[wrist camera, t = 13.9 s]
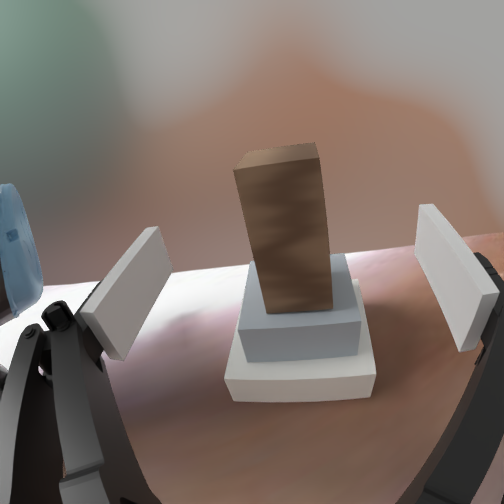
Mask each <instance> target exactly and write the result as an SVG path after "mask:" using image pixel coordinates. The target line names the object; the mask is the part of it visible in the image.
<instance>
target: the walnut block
mask: <svg viewBox="0 0 504 504" xmlns="http://www.w3.org/2000/svg"><path fill="white" fill-rule="evenodd" d="M233 172H234V176H235V180H236V184H237V189H238V193H239V197H240V201H241V205H242V210H243V215H244V219H245V223H246V227H247V232H248V236H249V240H250V245H251V249H252V253H253V258H254V262H255V266H256V271H257V275H258V279H259V283H260V288H261V292H262V296H263V301H264V305H265V309H266V314H269V313H285V312H299V311H312V310H324V309H333V293H332V276H331V262H330V250H329V238H328V227H327V217H326V208H325V199H324V190H323V183H322V175H321V167H320V160H319V155H318V152H317V148H316V145H315V142H314V143H306V144H298V145H290V146H284V147H276V148H270V149H263V150H257V151H251V152H247V153H246V154H245V155H244V157H243V158H242V159H241V160H240V162H239V163H238V164H237V165H236V167H235V168H234V169H233Z"/></svg>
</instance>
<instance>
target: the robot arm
mask: <svg viewBox="0 0 504 504" xmlns="http://www.w3.org/2000/svg"><path fill="white" fill-rule="evenodd" d="M414 254H415V256H416V258H417V260H418V262H419V263H420V265H421V267H422V269H423V271H424V273H425V275H426V277H427V279H428V281H429V283H430V286H431V288H432V290H433V292H434V294H435V296H436V298H437V300H438V303H439V305H440V307H441V309H442V312H443V314H444V316H445V319H446V321H447V323H448V326H449V328H450V331H451V333H452V336H453V338H454V341H455V343H456V346H457V348H458V351H459V352H464V351H468V350H473V349H475V348H476V346H477V344H478V342H479V340H480V338H481V340H482V342H483V344H484V347H483V349H482V351H481V353H480V355H479V356H478V358H477V360H476V362H475V365H476V366H475V369H474V371H473V374H472V376H471V378H470V381H469V383H468V385H467V387H466V390H465V392H464V394H463V396H462V398H461V400H460V402H459V404H458V406H457V408H456V410H455V412H454V414H453V416H452V418H451V420H450V422H449V424H448V426H447V427H446V429H445V431H444V433H443V435H442V436H441V438H440V440H439V441H438V443H437V445H436V447H435V448H434V450H433V451H432V453H431V455H430V456H429V458H428V459H427V461H426V462H425V464H424V465H423V467H422V468H421V470H420V471H419V473H418V474H417V476H416V477H415V478H414V480H413V481H412V483H411V484H410V485H409V487H408V488H407V489H406V491H405V492H404V493H403V495H402V496H401V497H400V499H399V500H398V501H397V502H396V503H395V504H470V503H471V501H472V499H473V497H474V496H475V494H476V492H477V490H478V488H479V487H480V485H481V483H482V481H483V479H484V477H485V475H486V473H487V471H488V469H489V467H490V465H491V463H492V460H493V458H494V456H495V454H496V451H497V449H498V447H499V444H500V442H501V440H502V437H503V434H504V281H503V280H502V278H501V277H500V276H499V275H498V273H497V271H496V270H495V269H494V268H493V266H492V264H491V263H490V262H489V260H488V259H487V258H485V257H484V256H483V255H481V254H480V253H479V252H477V253H472V251H471V250H470V249H469V247H468V246H467V245H466V243H465V242H464V241H463V239H462V238H461V237H460V236H459V234H458V233H457V232H456V231H455V229H454V228H453V227H452V226H451V225H450V223H449V222H448V221H447V220H446V219H445V217H444V216H443V215H442V214H441V213H440V212H439V210H438V209H437V208H436V207H435V206H434V205H433V204H419V214H418V225H417V234H416V243H415V251H414ZM172 271H173V267H172V264H171V261H170V258H169V255H168V253H167V250H166V247H165V244H164V242H163V239H162V235H161V233H160V230H159V226H157V227H149V228H146V229H145V230H144V231H143V232H142V233H141V235H140V236H139V237H138V238H137V239H136V240H135V242H134V243H133V244H132V245H131V247H130V248H129V249H128V250H127V251H126V252H125V254H124V255H123V256H122V257H121V258H120V260H119V261H118V262H117V263H116V265H115V266H114V267H113V268H112V270H111V271H110V272H109V274H108V275H107V276H106V277H105V278H104V279H103V280H102V281H100V282H99V283H98V284H97V285H96V286H95V288H94V289H93V290H92V292H91V293H90V294H89V296H88V298H86V300H85V301H84V302H83V304H82V305H81V306H80V308H79V309H78V310H77V312H76V313H75V314H74V315H73V314H72V312H71V310H70V309H69V307H68V305H67V304H66V302H65V301H57V302H54V303H52V304H51V305H49V306H48V307H47V308H46V309H45V310H44V311H43V313H42V316H41V318H42V319H43V321H44V322H45V324H46V325H47V327H48V328H49V331H43V329H42V328H41V326H40V325H39V324H37V323H36V324H32V325H29V326H27V327H26V328H25V329H24V331H23V332H22V333H21V335H20V338H19V340H18V343H17V346H16V349H15V352H14V355H13V358H12V361H11V365H10V368H9V371H8V370H7V369H6V368H5V367H4V366H2V365H1V364H0V504H162V503H161V502H160V501H159V499H158V498H157V497H156V496H155V495H154V494H153V493H152V492H151V490H150V489H149V487H148V485H147V483H146V480H145V478H144V476H143V474H142V471H141V469H140V467H139V464H138V462H137V460H136V457H135V455H134V452H133V450H132V447H131V445H130V442H129V439H128V437H127V434H126V431H125V428H124V426H123V423H122V420H121V417H120V414H119V411H118V408H117V405H116V402H115V398H114V395H113V392H112V388H111V385H110V381H109V378H108V374H107V370H106V366H105V363H104V360H103V358H102V357H101V354H102V352H103V350H104V351H105V352H106V354H107V355H108V356H109V358H110V359H114V360H121V361H124V360H125V358H126V356H127V354H128V352H129V350H130V348H131V346H132V344H133V342H134V340H135V338H136V336H137V335H138V333H139V331H140V329H141V327H142V325H143V323H144V321H145V320H146V318H147V316H148V314H149V312H150V310H151V308H152V307H153V305H154V303H155V301H156V299H157V298H158V296H159V294H160V292H161V290H162V289H163V287H164V285H165V283H166V282H167V280H168V278H169V276H170V275H171V273H172ZM42 292H43V277H42V271H41V267H40V262H39V258H38V255H37V251H36V247H35V243H34V240H33V236H32V233H31V229H30V226H29V222H28V219H27V216H26V213H25V210H24V207H23V204H22V201H21V198H20V196H19V193H18V191H17V190H16V189H15V186H14V185H13V184H6V185H5V184H2V185H1V186H0V326H1V325H3V324H5V323H6V322H8V321H10V320H12V319H14V318H17V317H18V316H19V314H20V313H22V312H23V311H25V310H26V309H28V308H29V307H31V306H32V305H34V304H35V303H36V302H37V301H38V300H39V299H40V297H41V294H42ZM38 366H40V367H41V369H42V370H43V371H44V372H43V376H42V375H41V374H40V373H39V371H38ZM63 458H64V463H65V467H66V472H67V476H66V477H65V478H63ZM501 504H504V495H503V498H502V501H501Z"/></svg>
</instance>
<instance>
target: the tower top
mask: <svg viewBox="0 0 504 504" xmlns="http://www.w3.org/2000/svg"><path fill="white" fill-rule="evenodd" d="M330 262H331V276H332V293H333V309H324V310H312V311H299V312H285V313H269V314H266V309H265V305H264V301H263V296H262V292H261V288H260V283H259V279H258V275H257V271H256V266H255V262H254V261H250V266H249V271H248V277H247V282H246V287H245V293H244V298H243V303H242V309H241V314H240V319H239V325H238V333H239V336H240V340H241V343H242V347H243V350H244V353H245V357H246V360H247V362H275V361H295V360H310V359H323V358H335V357H345V356H354V355H357V354H358V347H359V339H360V330H361V316H360V312H359V308H358V304H357V300H356V296H355V292H354V288H353V284H352V280H351V276H350V273H349V269H348V265H347V262H346V258H345V255H344V253H339V254H330Z"/></svg>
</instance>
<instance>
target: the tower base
mask: <svg viewBox="0 0 504 504" xmlns="http://www.w3.org/2000/svg"><path fill="white" fill-rule="evenodd" d="M352 284H353V288H354V292H355V296H356V300H357V304H358V308H359V312H360V316H361V330H360V339H359V347H358V354H357V355H354V356H345V357H335V358H323V359H310V360H295V361H275V362H247V360H246V357H245V353H244V350H243V347H242V343H241V340H240V336H239V333H238V325H239V319H240V314H241V309H242V303H243V299H242V303H241V308H240V312H239V316H238V321H237V325H236V329H235V333H234V337H233V342H232V346H231V350H230V354H229V359H228V363H227V367H226V371H225V376H224V381H225V383H226V385H227V387H228V390H229V392H230V394H231V396H232V399H233V401H242V402H314V401H333V400H346V399H358V398H367V397H370V396H371V393H372V389H373V385H374V382H375V378H376V368H375V362H374V356H373V350H372V344H371V339H370V334H369V329H368V324H367V319H366V314H365V309H364V305H363V300H362V295H361V291H360V287H359V282H358V279H352ZM245 287H246V286H245ZM244 293H245V291H244ZM243 298H244V295H243Z"/></svg>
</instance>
